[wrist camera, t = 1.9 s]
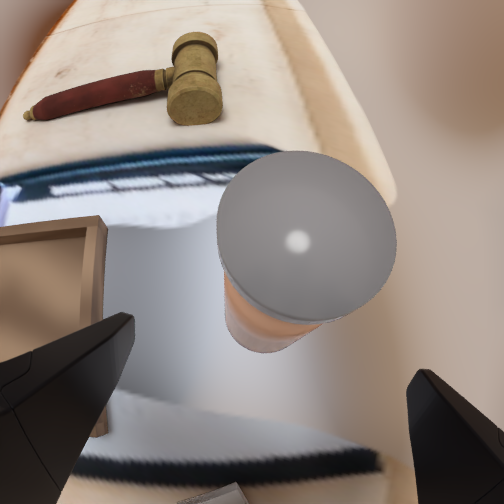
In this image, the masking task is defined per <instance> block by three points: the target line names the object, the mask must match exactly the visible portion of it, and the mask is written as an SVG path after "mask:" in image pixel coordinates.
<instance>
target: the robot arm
mask: <svg viewBox="0 0 504 504" xmlns="http://www.w3.org/2000/svg"><path fill="white" fill-rule="evenodd" d="M134 340H135V319H134V316H133V315H131V314H128V313H124V312H120V313H118V314H115V315H113V316H111V317H108V318H106V319H103V320H101V321H99V322H96V323H94V324H92V325H90V326H87V327H85V328H83V329H80V330H78V331H76V332H73V333H71V334H69V335H66V336H64V337H62V338H59V339H57V340H55V341H52V342H50V343H48V344H45V345H43V346H41V347H38V348H36V349H33V351H29V352H26V353H24V354H22V355H19V356H17V357H14V358H12V359H9V360H6V361H3V362H0V504H56V503H57V501H58V499H59V497H60V495H61V491H62V490H63V488H64V486H65V484H66V482H67V480H68V478H69V476H70V474H71V472H72V470H73V467H74V465H75V463H76V461H77V459H78V457H79V456H80V454H81V452H82V450H83V448H84V446H85V444H86V442H87V440H88V438H89V436H90V434H91V432H92V430H93V428H94V426H95V424H96V423H97V421H98V419H99V417H100V415H101V413H102V411H103V409H104V408H105V406H106V404H107V402H108V400H109V398H110V396H111V395H112V393H113V391H114V389H115V387H116V385H117V383H118V381H119V378H120V376H121V373H122V371H123V369H124V366H125V364H126V361H127V359H128V356H129V354H130V351H131V349H132V347H133V344H134ZM406 397H407V408H408V423H409V434H410V441H411V447H412V453H413V460H414V469H415V477H416V485H417V495H418V504H504V432H503V431H502V430H501V429H500V428H497V426H496V425H495V424H494V423H493V422H492V421H491V420H489V419H488V418H487V417H486V416H484V414H482V413H481V412H480V411H479V410H478V409H477V408H475V407H474V406H473V405H472V404H471V403H469V402H468V401H467V400H466V399H465V398H464V397H462V396H461V395H460V394H459V393H458V392H456V391H455V390H454V389H453V388H452V387H451V386H449V385H448V384H447V383H446V382H445V381H443V380H442V379H441V378H440V377H439V376H437V375H436V374H435V373H434V372H432V371H431V370H429V369H419V370H418V371H417V372H416V374H415V376H414V377H413V379H412V380H411V382H410V384H409V385H408V387H407V391H406Z"/></svg>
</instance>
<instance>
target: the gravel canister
mask: <svg viewBox="0 0 504 504" xmlns="http://www.w3.org/2000/svg"><path fill="white" fill-rule="evenodd" d="M396 241H397V240H396V231H395V227H394V222H393V219H392V216H391V214H390V211H389V209H388V207H387V205H386V203H385V201H384V200H383V198H382V196H381V195H380V193H379V192H378V191H377V190H376V188H375V187H374V186H373V185H372V184H371V183H370V182H369V181H368V180H367V179H366V178H365V177H364V176H363V175H362V174H360V173H359V172H358V171H356V170H355V169H353V168H352V167H350V166H349V165H347V164H345V163H343V162H341V161H339V160H337V159H335V158H332V157H329V156H326V155H323V154H319V153H314V152H308V151H285V152H278V153H274V154H270V155H267V156H264V157H262V158H260V159H257V160H255V161H254V162H252V163H250V164H249V165H247V166H246V167H245V168H243V169H242V170H241V171H240V172H239V173H238V174H237V175H236V176H235V177H234V178H233V179H232V180H231V182H230V183H229V184H228V186H227V187H226V189H225V191H224V193H223V195H222V198H221V201H220V204H219V207H218V213H217V245H218V252H219V257H220V260H221V264H222V266H223V269H224V280H225V281H224V282H225V283H224V285H225V287H224V288H225V320H226V324H227V327H228V330H229V332H230V333H231V335H232V337H233V338H234V339H235V340H236V341H237V342H238V343H239V344H240V345H242V346H243V347H245V348H247V349H248V350H251V351H254V352H259V353H272V352H276V351H280V350H282V349H284V348H286V347H287V346H289V345H291V344H292V343H294V342H295V341H297V340H298V339H300V338H302V337H303V336H305V335H306V334H308V333H310V332H311V331H313V330H314V329H316V328H317V327H319V326H320V325H322V324H323V323H328V322H332V321H335V320H338V319H340V318H342V317H344V316H346V315H348V314H350V313H352V312H353V311H355V310H356V309H358V308H360V307H361V306H363V305H364V304H366V303H367V302H368V301H369V300H371V299H372V298H373V297H374V296H375V295H376V294H377V293H378V292H379V291H380V290H381V288H382V287H383V285H384V284H385V283H386V281H387V279H388V277H389V275H390V273H391V271H392V268H393V265H394V262H395V256H396V245H397V244H396V243H397V242H396Z"/></svg>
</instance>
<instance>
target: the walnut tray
mask: <svg viewBox="0 0 504 504" xmlns="http://www.w3.org/2000/svg"><path fill="white" fill-rule="evenodd" d="M107 234H108V228H107V226H106V225H105V223H104V222H103V220H102V219H101V217H100V216H99V215H96V216H87V217H77V218H68V219H60V220H51V221H43V222H35V223H27V224H20V225H12V226H5V227H0V362H3V361H6V360H9V359H12V358H14V357H17V356H19V355H22V354H24V353H26V352H29V351H33V349H36V348H38V347H41V346H43V345H45V344H48V343H50V342H52V341H55V340H57V339H59V338H62V337H64V336H66V335H69V334H71V333H73V332H76V331H78V330H80V329H83V328H85V327H87V326H90V325H92V324H94V323H96V322H99V321H101V320H103V294H104V273H105V258H106V257H105V256H106V245H107ZM105 434H108V426H107V415H106V406H105V408H104V409H103V411H102V413H101V415H100V417H99V419H98V421H97V423H96V424H95V426H94V428H93V430H92V432H91V434H90V436H89V437H96V438H97V437H100V436H102V435H105Z"/></svg>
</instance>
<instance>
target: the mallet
mask: <svg viewBox="0 0 504 504" xmlns="http://www.w3.org/2000/svg"><path fill="white" fill-rule="evenodd" d="M177 504H249V502H248V501H247V499H246V497H245V496H244V494H243V492H242V491H241V489H240V487H239V486H238V484H237V482H235V483H232V484H229V485H227V486H224V487H222V488H219V489H216V490H213V491H211V492H208V493H205V494H202V495H199V496H196V497H193V498H190V499H187V500H184V501H180V502H178V503H177Z"/></svg>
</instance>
